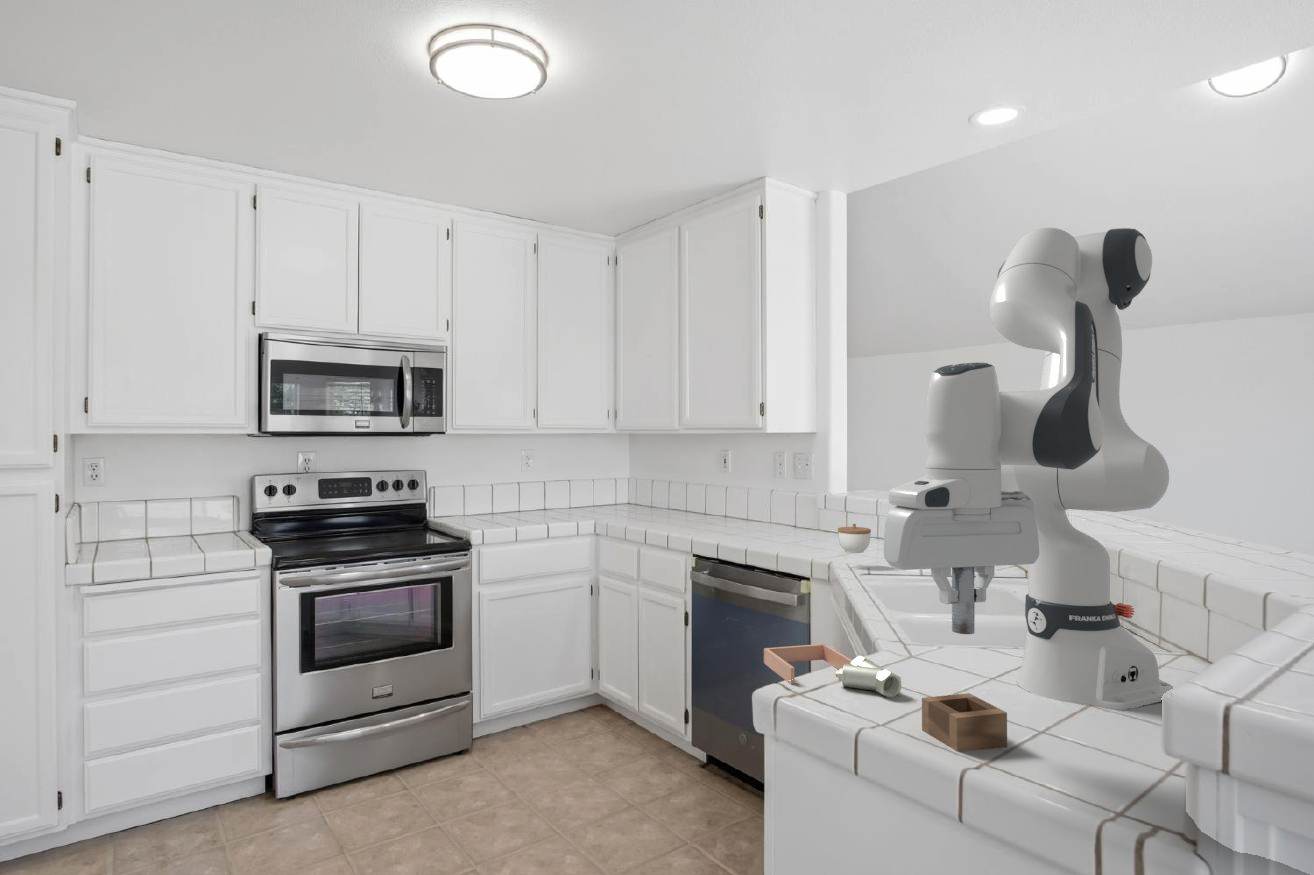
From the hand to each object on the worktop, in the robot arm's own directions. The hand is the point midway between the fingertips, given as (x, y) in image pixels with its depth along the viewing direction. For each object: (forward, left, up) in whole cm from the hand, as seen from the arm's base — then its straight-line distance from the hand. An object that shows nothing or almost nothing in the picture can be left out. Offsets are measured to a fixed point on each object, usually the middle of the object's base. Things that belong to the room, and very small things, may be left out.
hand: (962, 602), depth 90 cm
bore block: (0, 0, -17) cm, 17 cm away
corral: (+6, -30, -17) cm, 35 cm away
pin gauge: (0, 0, -4) cm, 4 cm away
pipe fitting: (+6, -20, -16) cm, 26 cm away
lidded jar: (-64, -142, -18) cm, 157 cm away
